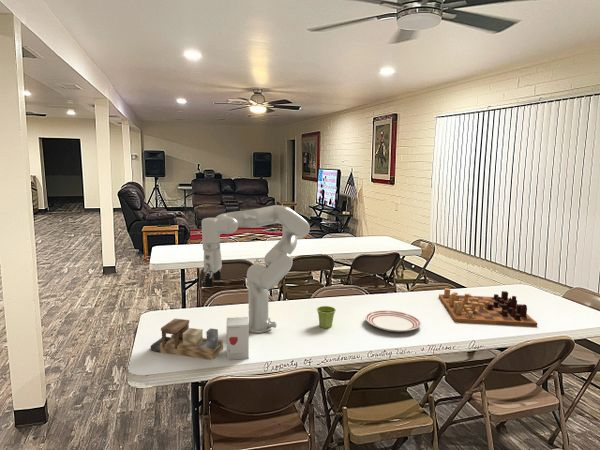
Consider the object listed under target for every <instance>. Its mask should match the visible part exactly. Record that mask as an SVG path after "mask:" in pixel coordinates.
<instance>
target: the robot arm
mask: <svg viewBox="0 0 600 450" xmlns="http://www.w3.org/2000/svg"><path fill="white" fill-rule="evenodd" d="M274 224H280V225H282V236H281V238H280V239H279V241H278V242H277V243H276V244H274V246H273V247H271V249H270V250H269V251H267V253H266V254H265V255H264V259H263V260H264V261H263V262H264V264H265V265H266V266H265V265H263V264H259V263H254V264H251V266H249V267H248V269H247V271H246V280H247V288H248V324H249V333H252V334H262V333H263V334H264V333H266V332H269V331H270V330H271V329H272V328H277V323H276V321H271V318H269V298H270V297H269V295H270V293H269V290H270V289H273V288H274V287H275V286H276V285H277V284H279V283H280V281H281V280H283V278H284V277H285V276H286V275H287V274H288V273H289V272H290V270H291V268H292V266H293V264H294V263H293V262H294V261H293V257H292V253H293V252H294V251H295V250H296V247H297V244H298V238H304V237H306V236H308V234H309V233H310V231H311V226H310V224H309V222H308V221H307V220H306V219H305V218H304V217H302V216H301V215H300V214H298V213H297V212H296V211H294V210H293V209H291V207H288V206H284V205H280V204H274V205H270V206H269V205H268V206H264V207H260V208H259V207H258V208H254V209H245V210H239V211H230V212H226V213H225V212H224V213H221V214H218V215H217V216H215V217H205V218H203V219H201V239H202V251H203V271H202V272H203V276H204V284H205V285H204V286H205V287H206V288H213V286H214V285H213V284H214V283H213V281H221V279H222V275H221V269H222V267H223V263H222V253H221V237H220V235H222V234H225V235H229V234H233V233H235V232H236V231H237V230H238V228H241V227H243V228H245V227H246V228H260V227H265V226H268V225H274Z"/></svg>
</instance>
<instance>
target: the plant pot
mask: <svg viewBox="0 0 600 450" xmlns="http://www.w3.org/2000/svg"><path fill="white" fill-rule="evenodd" d="M316 311H317V313H318V322H319V323H318V324H319V327H320V328H322V329H327V328H328V329H330V328H332V327H333V321H334V316H335V312H336V308H335V307H333V306H328V305H321V306H318V307H317V308H316Z"/></svg>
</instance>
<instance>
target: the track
mask: <svg viewBox="0 0 600 450" xmlns="http://www.w3.org/2000/svg"><path fill="white" fill-rule="evenodd" d="M189 325H190V319H183V318H174V319H171V320H170V321H169V322H168V323H166V324H164V325H162V327H160V331H161V338H159V339H158V340H156V341H155V342H153V343H152V344H151V345H150V352H153V353H161V354H169V355H174V356H175V355H176V356H183V357H190V358H191V357H192V358H196V357H197V359H204V360H205V359H206V360H212V361H213V360H215V358H216V357H218V355H219V354H220V353H221V352H222V351H223V350H224V340H220V339H218V344H219V346H218V347H217V348H216V349H215V350H214V349H208V348H200V347H193V346H185V345H183V333H184V332H185V331H186V330H188V329H189V328H190V327H189ZM167 335H170V336H167ZM203 342H207V337H205V338H204V337H203Z"/></svg>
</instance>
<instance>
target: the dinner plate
mask: <svg viewBox="0 0 600 450" xmlns="http://www.w3.org/2000/svg"><path fill="white" fill-rule="evenodd" d="M365 321H366V322H367V323H368V324H369V325H371V326H373V327H374V328H377V329H380V330H384V331H386V332H390V333H391V332H392V333H393V332H394V333H402V332H403V333H404V332H410V331H413V330H416V329H419V328H420V327H421V326H422V322H421V320H420V319H419V318H418V317H416V316H414V315H412V314H410V313H406V312H402V311H399V310H398V311H397V310H388V309H387V310H385V309H384V310H381V309H380V310H374V311H369V312H368V313H366V314H365Z"/></svg>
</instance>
